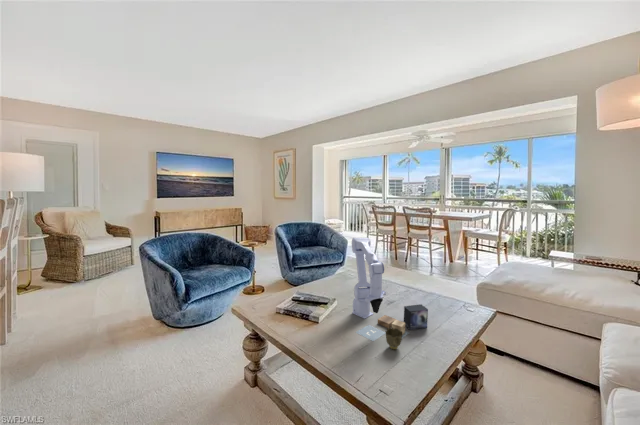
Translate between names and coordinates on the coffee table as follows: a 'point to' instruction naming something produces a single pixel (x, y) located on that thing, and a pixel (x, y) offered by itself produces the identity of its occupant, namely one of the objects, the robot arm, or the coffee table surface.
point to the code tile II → (405, 334)
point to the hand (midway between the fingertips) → (375, 312)
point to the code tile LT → (370, 332)
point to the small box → (415, 317)
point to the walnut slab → (386, 321)
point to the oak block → (399, 325)
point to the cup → (393, 338)
